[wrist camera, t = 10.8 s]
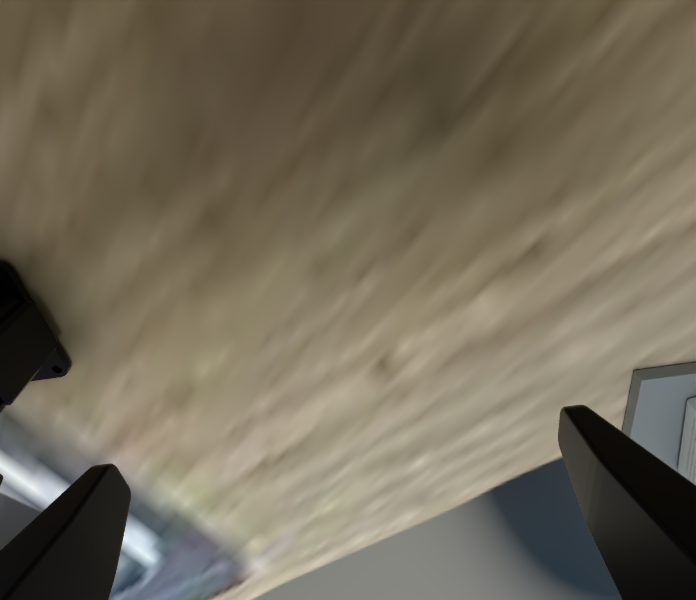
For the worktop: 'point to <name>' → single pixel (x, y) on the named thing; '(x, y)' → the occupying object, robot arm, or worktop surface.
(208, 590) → the worktop surface
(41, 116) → the worktop surface
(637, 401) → the plate
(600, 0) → the worktop surface
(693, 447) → the skincare box
